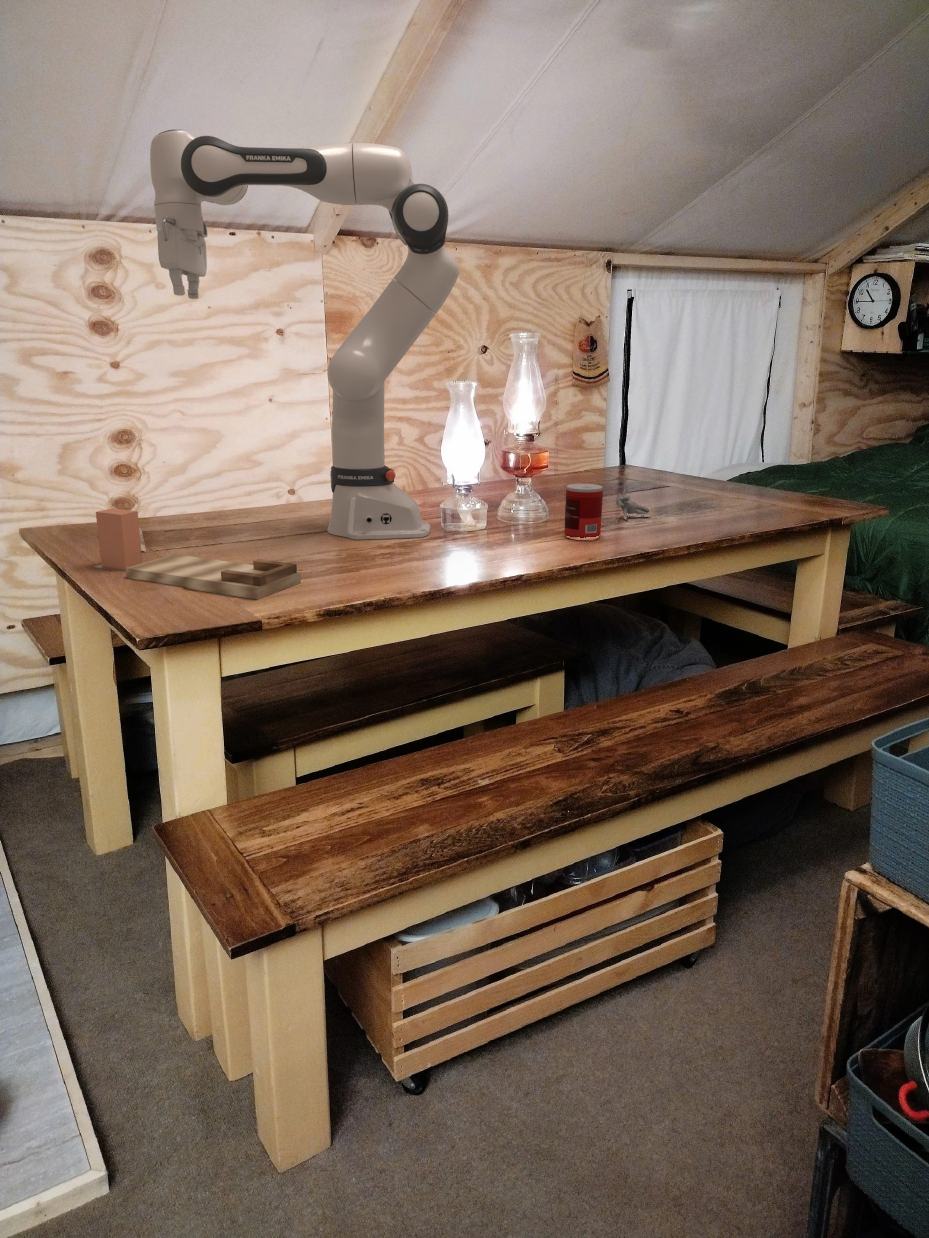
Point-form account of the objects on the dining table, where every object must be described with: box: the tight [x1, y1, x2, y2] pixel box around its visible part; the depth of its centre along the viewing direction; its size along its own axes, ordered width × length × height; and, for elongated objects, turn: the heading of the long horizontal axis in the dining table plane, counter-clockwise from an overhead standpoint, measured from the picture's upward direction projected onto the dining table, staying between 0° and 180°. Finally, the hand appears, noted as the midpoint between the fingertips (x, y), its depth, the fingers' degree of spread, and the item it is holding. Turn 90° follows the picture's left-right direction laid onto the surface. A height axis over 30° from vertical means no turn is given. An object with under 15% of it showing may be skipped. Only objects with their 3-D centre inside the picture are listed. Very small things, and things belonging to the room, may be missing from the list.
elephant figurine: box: [615, 488, 651, 518], centre depth 220 cm, size 10×6×9 cm
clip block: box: [95, 507, 143, 570], centre depth 167 cm, size 6×4×10 cm, turn 65°
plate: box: [93, 564, 126, 573], centre depth 168 cm, size 8×6×1 cm
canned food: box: [563, 483, 604, 538], centre depth 197 cm, size 8×8×11 cm
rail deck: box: [125, 553, 302, 600], centre depth 160 cm, size 28×12×4 cm, turn 65°
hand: (186, 297), depth 185 cm, fingers open, 8 cm apart
